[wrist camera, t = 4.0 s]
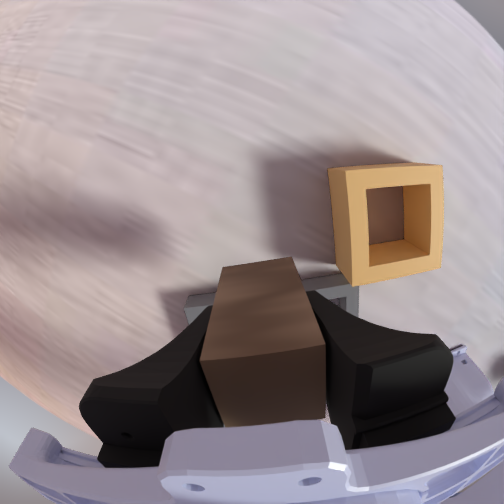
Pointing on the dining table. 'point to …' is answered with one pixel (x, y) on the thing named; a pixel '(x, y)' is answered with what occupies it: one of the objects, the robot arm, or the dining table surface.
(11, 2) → the dining table surface
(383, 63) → the dining table surface
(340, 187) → the socket
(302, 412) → the rod
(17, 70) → the dining table surface
